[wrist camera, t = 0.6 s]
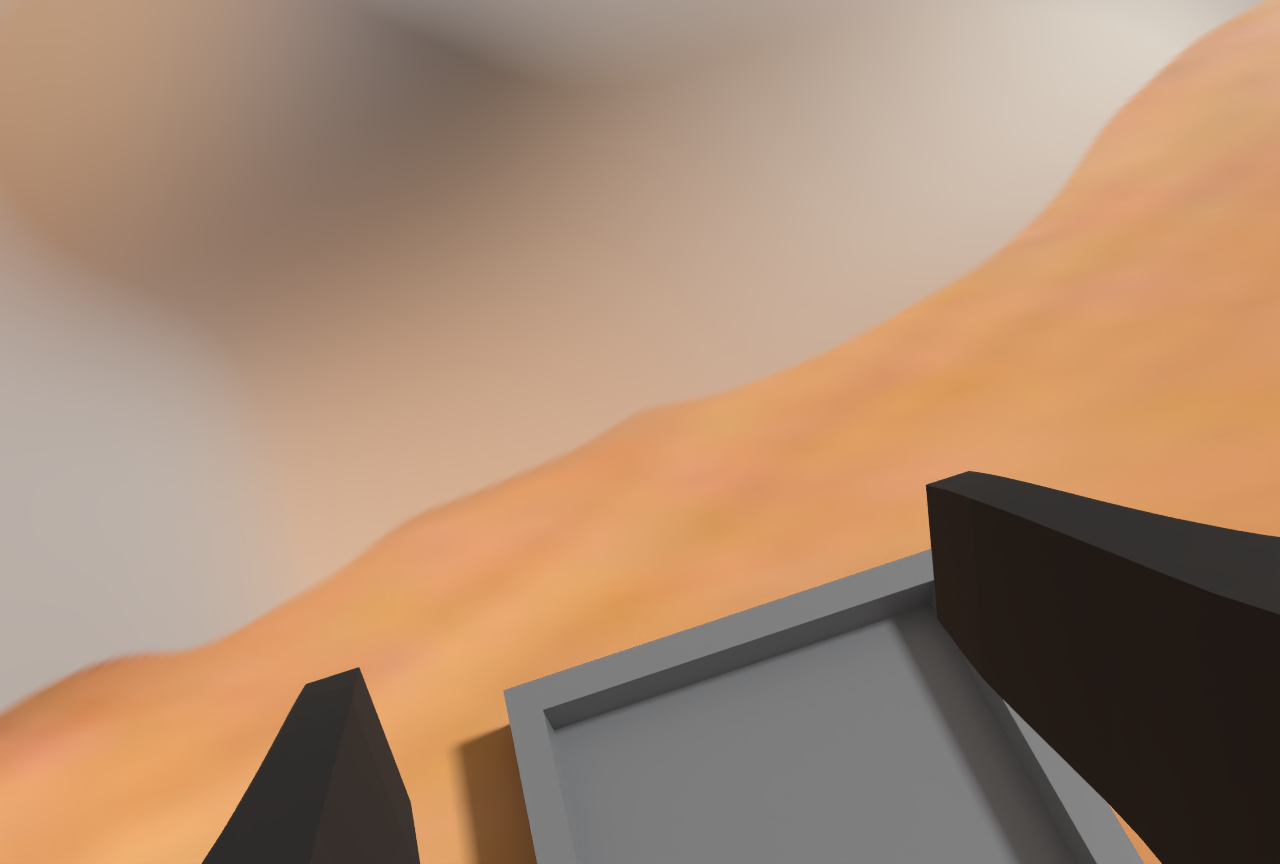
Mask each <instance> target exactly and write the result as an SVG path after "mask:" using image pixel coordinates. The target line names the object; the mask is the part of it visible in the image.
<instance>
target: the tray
mask: <svg viewBox="0 0 1280 864" xmlns="http://www.w3.org/2000/svg"><path fill="white" fill-rule="evenodd" d="M503 691H504V696H505V701H506V706H507V711H508V716H509V721H510V727H511V732H512V737H513V742H514V747H515V752H516V758H517V763H518V768H519V773H520V778H521V783H522V788H523V794H524V799H525V804H526V809H527V814H528V819H529V825H530V830H531V835H532V840H533V845H534V850H535V855H536V861H537V864H1144V863H1143V861H1142V859H1141V858H1140V856H1139V854H1138V853H1137V851H1136V849H1135V848H1134V846H1133V844H1132V843H1131V841H1130V839H1129V838H1128V836H1127V835H1126V833H1125V831H1124V830H1123V828H1122V826H1121V825H1120V823H1119V821H1118V820H1117V818H1116V816H1115V815H1114V813H1113V811H1112V810H1111V808H1110V806H1109V805H1108V803H1107V802H1106V801H1105V800H1104V799H1103V798H1102V797H1101V796H1100V795H1099V794H1098V793H1097V792H1096V791H1095V790H1094V789H1093V788H1092V787H1091V786H1090V785H1089V784H1088V783H1087V782H1086V781H1085V780H1084V779H1083V778H1082V777H1081V776H1080V775H1079V774H1078V773H1077V772H1076V771H1075V770H1074V769H1073V768H1072V767H1071V766H1070V765H1069V764H1068V763H1067V762H1066V761H1065V760H1064V759H1063V758H1062V757H1061V756H1060V755H1059V754H1058V753H1056V752H1055V751H1054V750H1053V749H1052V748H1051V747H1050V746H1049V745H1048V744H1047V743H1046V742H1045V741H1044V740H1043V739H1042V738H1041V737H1040V736H1039V735H1038V734H1037V733H1036V732H1035V731H1034V730H1033V729H1032V728H1031V727H1030V726H1029V725H1028V724H1027V723H1026V722H1025V721H1024V720H1023V719H1022V718H1021V717H1020V716H1019V715H1018V714H1017V713H1016V712H1015V711H1014V710H1013V709H1012V708H1011V707H1010V706H1009V705H1008V704H1007V703H1006V702H1005V701H1004V700H1003V699H1002V698H1001V697H1000V696H999V695H998V694H997V693H996V692H995V691H994V690H993V689H992V688H991V687H990V686H989V685H988V684H987V683H986V681H985V680H984V679H983V678H982V677H981V676H980V674H979V673H978V672H977V671H976V669H975V668H974V667H973V666H972V664H971V663H970V662H969V661H968V659H967V658H966V657H965V655H964V654H963V653H962V652H961V650H960V649H959V648H958V646H957V645H956V643H955V642H954V641H953V639H952V638H951V637H950V635H949V634H948V633H947V631H946V630H945V628H944V627H943V626H942V624H941V623H940V622H939V620H938V619H937V609H936V598H935V586H934V574H933V562H932V550H931V549H929V550H926V551H923V552H920V553H917V554H914V555H911V556H908V557H905V558H902V559H899V560H896V561H893V562H890V563H887V564H884V565H881V566H878V567H875V568H872V569H869V570H866V571H863V572H860V573H857V574H854V575H851V576H848V577H845V578H842V579H839V580H836V581H833V582H830V583H827V584H824V585H821V586H818V587H815V588H812V589H809V590H806V591H803V592H800V593H796V594H793V595H790V596H787V597H784V598H781V599H778V600H775V601H772V602H769V603H766V604H763V605H760V606H757V607H754V608H751V609H748V610H745V611H742V612H739V613H736V614H733V615H730V616H727V617H724V618H721V619H718V620H715V621H712V622H709V623H706V624H703V625H700V626H697V627H694V628H691V629H688V630H685V631H682V632H679V633H676V634H673V635H670V636H667V637H663V638H660V639H657V640H654V641H651V642H648V643H645V644H642V645H639V646H636V647H633V648H630V649H627V650H624V651H621V652H618V653H615V654H612V655H609V656H606V657H603V658H600V659H597V660H594V661H591V662H588V663H585V664H582V665H579V666H576V667H573V668H570V669H567V670H564V671H561V672H558V673H555V674H552V675H549V676H546V677H543V678H540V679H537V680H534V681H530V682H527V683H524V684H521V685H518V686H515V687H512V688H509V689H506V690H503Z"/></svg>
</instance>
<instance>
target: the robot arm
mask: <svg viewBox="0 0 1280 864" xmlns="http://www.w3.org/2000/svg"><path fill="white" fill-rule="evenodd" d="M926 491H927V503H928V515H929V527H930V538H931V550H932V562H933V574H934V586H935V598H936V609H937V619H938V620H939V622H940V623H941V624H942V626H943V627H944V628H945V630H946V631H947V633H948V634H949V635H950V637H951V638H952V639H953V641H954V642H955V643H956V645H957V646H958V648H959V649H960V650H961V652H962V653H963V654H964V655H965V657H966V658H967V659H968V661H969V662H970V663H971V664H972V666H973V667H974V668H975V669H976V671H977V672H978V673H979V674H980V676H981V677H982V678H983V679H984V680H985V681H986V683H987V684H988V685H989V686H990V687H991V688H992V689H993V690H994V691H995V692H996V693H997V694H998V695H999V696H1000V697H1001V698H1002V699H1003V700H1004V701H1005V702H1006V703H1007V704H1008V705H1009V706H1010V707H1011V708H1012V709H1013V710H1014V711H1015V712H1016V713H1017V714H1018V715H1019V716H1020V717H1021V718H1022V719H1023V720H1024V721H1025V722H1026V723H1027V724H1028V725H1029V726H1030V727H1031V728H1032V729H1033V730H1034V731H1035V732H1036V733H1037V734H1038V735H1039V736H1040V737H1041V738H1042V739H1043V740H1044V741H1045V742H1046V743H1047V744H1048V745H1049V746H1050V747H1051V748H1052V749H1053V750H1054V751H1055V752H1056V753H1058V754H1059V755H1060V756H1061V757H1062V758H1063V759H1064V760H1065V761H1066V762H1067V763H1068V764H1069V765H1070V766H1071V767H1072V768H1073V769H1074V770H1075V771H1076V772H1077V773H1078V774H1079V775H1080V776H1081V777H1082V778H1083V779H1084V780H1085V781H1086V782H1087V783H1088V784H1089V785H1090V786H1091V787H1092V788H1093V789H1094V790H1095V791H1096V792H1097V793H1098V794H1099V795H1100V796H1101V797H1102V798H1103V799H1104V800H1105V801H1106V802H1107V803H1108V804H1109V805H1110V806H1111V807H1112V808H1113V809H1114V810H1115V811H1116V812H1117V813H1118V814H1119V815H1120V816H1121V817H1122V818H1123V820H1124V821H1125V822H1126V823H1127V824H1128V825H1129V826H1130V827H1131V828H1132V829H1133V830H1134V831H1135V832H1136V833H1137V834H1138V836H1139V837H1140V838H1141V839H1142V840H1143V841H1144V843H1145V844H1146V845H1147V846H1148V847H1149V849H1150V850H1151V851H1152V852H1153V853H1154V855H1155V856H1156V857H1157V858H1158V859H1159V861H1160V862H1161V863H1162V864H1280V537H1275V536H1267V535H1261V534H1255V533H1249V532H1243V531H1237V530H1232V529H1226V528H1221V527H1216V526H1211V525H1206V524H1201V523H1196V522H1191V521H1186V520H1181V519H1176V518H1172V517H1167V516H1163V515H1158V514H1154V513H1149V512H1145V511H1140V510H1136V509H1132V508H1128V507H1123V506H1119V505H1115V504H1111V503H1107V502H1103V501H1099V500H1095V499H1091V498H1087V497H1083V496H1079V495H1075V494H1071V493H1067V492H1063V491H1059V490H1055V489H1051V488H1047V487H1043V486H1039V485H1035V484H1031V483H1027V482H1023V481H1018V480H1014V479H1010V478H1005V477H1001V476H996V475H991V474H985V473H979V472H972V471H968V472H965V473H961V474H958V475H955V476H952V477H949V478H946V479H943V480H940V481H937V482H933V483H930V484H927V485H926ZM202 864H420V860H419V853H418V846H417V840H416V833H415V827H414V820H413V814H412V808H411V802H410V799H409V797H408V794H407V791H406V789H405V786H404V783H403V781H402V778H401V776H400V773H399V770H398V768H397V765H396V762H395V760H394V757H393V755H392V752H391V749H390V747H389V744H388V741H387V739H386V736H385V734H384V731H383V728H382V726H381V723H380V720H379V718H378V715H377V713H376V710H375V707H374V705H373V702H372V700H371V697H370V694H369V692H368V689H367V686H366V684H365V681H364V679H363V676H362V673H361V671H360V668H359V667H358V668H355V669H352V670H349V671H346V672H343V673H339V674H336V675H333V676H330V677H327V678H324V679H321V680H318V681H315V682H311V683H308V684H306V685H305V686H304V688H303V690H302V691H301V693H300V695H299V696H298V698H297V700H296V702H295V703H294V705H293V707H292V709H291V711H290V712H289V714H288V716H287V718H286V720H285V722H284V724H283V725H282V727H281V729H280V731H279V733H278V735H277V737H276V739H275V740H274V742H273V744H272V746H271V748H270V750H269V751H268V753H267V755H266V757H265V759H264V761H263V762H262V764H261V766H260V768H259V770H258V771H257V773H256V775H255V777H254V778H253V780H252V782H251V784H250V785H249V787H248V789H247V790H246V792H245V794H244V796H243V797H242V799H241V801H240V803H239V804H238V806H237V808H236V809H235V811H234V813H233V815H232V816H231V818H230V820H229V821H228V823H227V825H226V826H225V828H224V830H223V831H222V833H221V835H220V836H219V838H218V839H217V841H216V842H215V844H214V845H213V847H212V848H211V850H210V852H209V853H208V855H207V856H206V858H205V859H204V861H203V862H202Z"/></svg>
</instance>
